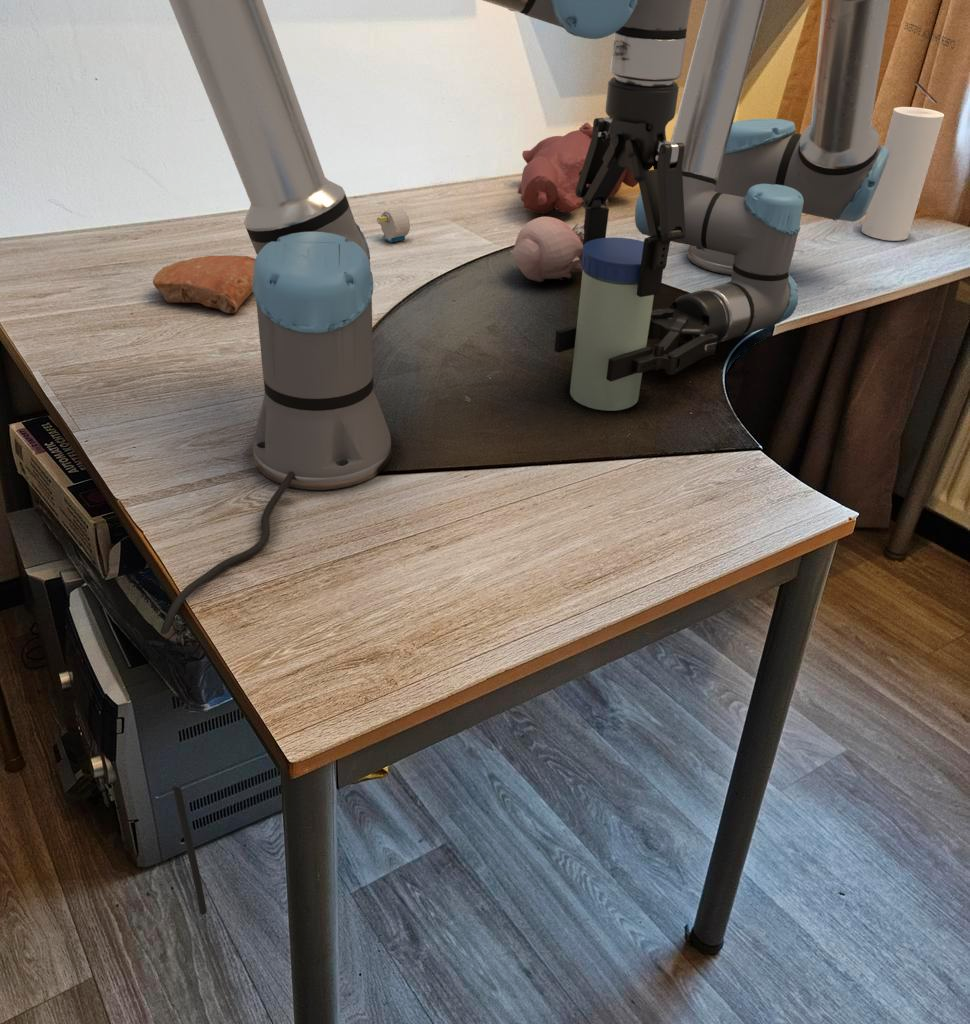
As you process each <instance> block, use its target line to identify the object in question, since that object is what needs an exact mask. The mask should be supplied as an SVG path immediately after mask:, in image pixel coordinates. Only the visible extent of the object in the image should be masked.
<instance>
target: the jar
mask: <svg viewBox="0 0 970 1024" xmlns="http://www.w3.org/2000/svg"><path fill="white" fill-rule="evenodd" d="M637 288H638V282H615V281H609V280H604V279H600V278H597V277H595V276H592V275H590V274H588V273H587V272H585V271H584V270H583V269H582V273H581V283H580V290H579V291H580V292H579V301H578V302H579V303H578V311H577V319H576V322H577V323H576V325H577V329H576V339H575V348H573V349H574V350H573V357H572V358H573V359H572V368H571V378H570V385H569V386H570V387H569V388H570V389H569V395H570V396H571V398H572V399H573V401H575V402H576V403H578V404H580V405H581V406H583V407H586V408H589V409H593V410H597V411H606V412H607V411H610V412H612V411H613V412H614V411H622V410H623V411H624V410H626V409H629V408H632V407H633V406H635V405H636V404H637V403H638V402H639V398H640V390H641V385H642V378H643V372H642V373H635V374H632V375H629V376H626V377H623V378H620V379H617V380H614V381H611V382H610V381H608V380H607V379H606V377H607V370H608V362H609V358H613V357H616V356H619V355H622V354H625V353H629V352H632V351H635V350H638V349H641V348H645V347H647V345H648V339H647V338H648V332H649V325H650V318H651V312H652V311H653V306H654V305H653V304H654V298H655V295H650V296H645V297H639V296H638V295H637Z"/></svg>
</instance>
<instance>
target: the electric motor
mask: <svg viewBox="0 0 970 1024" xmlns="http://www.w3.org/2000/svg"><path fill="white" fill-rule="evenodd" d="M376 222H377V224H378V225H380V227H381V231H382V233H383V238H384V240H385V241H388V242H389V243H394V242H395V243H396V242H399V241H404V240H405V238H406V236H407V235H409V233H410V229H411V222H410V218H409V216H408V213H407V212H406V210H404V209H403V208H397V209H392V210H387V211H384V212H383V213H382V214H381V216H378V217H377V218H376Z"/></svg>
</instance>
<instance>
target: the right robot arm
mask: <svg viewBox="0 0 970 1024" xmlns="http://www.w3.org/2000/svg"><path fill="white" fill-rule="evenodd" d="M821 1H822V2H821V10H820V11H821V13H820V23H819V33H818V43H817V44H818V45H817V56H816V66H815V78H814V88H813V99H812V109H811V121H810V124H809V125H808V126H807V127H806V128H805V129H804V130H803V131H802V132H801V133H796V130H797V128H796V124H795V122H794V121H793V120H786V119H784V118H783V119H782V118H751V119H741V120H737V121H735V118H736V117H735V116H736V113H737V109H738V106H739V102H740V98H741V95H742V91H743V88H744V84H745V80H746V77H747V74H748V69H749V65H750V62H751V58H752V55H753V51H754V47H755V44H756V40H757V36H758V32H759V29H760V25H761V22H762V17H763V14H764V11H765V7H766V3H767V0H706V1H705V5H704V9H703V13H702V18H701V22H700V26H699V29H698V33H697V36H696V41H695V45H694V48H693V52H692V56H691V60H690V64H689V67H688V72H687V75H686V79H685V83H684V88H683V91H682V94H681V95H682V96H681V98H680V103H679V107H678V111H677V115H676V119H675V123H674V126H673V130H672V133H671V138H670V142H671V143H683V144H684V147H685V151H684V157H683V163H682V176H683V195H684V214H685V232H686V233H685V237H684V238H683V239H677V240H672V241H671V242H673V243H677V244H683V245H687V246H688V251H687V258H688V260H689V261H690V262H691V263H693V264H694V265H696V266H697V267H699V268H702V269H704V270H707V271H710V272H714V273H718V274H722V275H723V274H724V275H730V276H731V278H730V281H728V282H725V283H721V284H718V285H714V286H710V287H706V288H702V289H700V290H696V291H693V292H689V293H686V294H683V295H680V296H678V297H677V298H676V299H675V300H674V301H673V302H672V303H671V304H670V305H669V307H667V308H657V309H654V310H652V312H651V318H650V325H649V332H648V338H647V340H659V341H660V342H659V343H655V344H654V346H653V348H651V347H650V346H646V347H645V348H641V349H638V350H635V351H632V352H629V353H625V354H622V355H619V356H616V357H613V358H609V362H608V370H607V377H606V379H607V380H608V381H610V382H611V381H614V380H617V379H620V378H623V377H626V376H629V375H632V374H635V373H642V374H643V373H645V372H648V371H651V370H653V371H661V370H665V374H667V375H669V376H673V375H676V374H678V373H679V372H681V371H683V370H685V369H686V368H688V367H689V366H691V365H692V364H694V363H696V362H697V361H699V360H700V359H703V358H705V357H711V356H713V355H715V354H716V353H715V352H716V349H717V348H716V347H717V344H719V343H722V342H725V341H729V340H731V339H734V338H738V337H742V336H744V335H748V334H751V333H755V332H758V331H761V330H766V329H770V328H772V327H774V326H775V325H778V324H780V323H782V322H784V321H786V320H788V318H790V317H791V316H792V315H793V314H794V312H795V310H796V309H797V306H798V304H799V294H798V289H797V288H798V287H797V283H796V281H795V280H794V279H793V277H792V276H791V275H790V273H789V272H790V269H791V264H792V261H793V256H794V253H795V248H796V243H797V239H798V236H799V232H800V231H801V227H800V226H801V219H802V214H805V215H810V216H814V217H819V218H823V219H828V220H832V221H843V222H852V223H853V222H857V221H859V220H861V219H862V218H863V217H865V215H866V211H867V209H868V207H869V205H870V202H871V200H872V198H873V196H874V193H875V191H876V188H877V186H878V183H879V181H880V178H881V176H882V173H883V171H884V168H885V165H886V162H887V160H888V156H889V150H888V149H887V148H884V145H879V144H880V133H879V131H878V130H877V128H876V126H875V125H874V124H873V123H872V121H873V114H874V109H875V102H876V96H877V89H878V83H879V76H880V70H881V64H882V57H883V50H884V46H885V45H884V44H885V38H886V31H887V24H888V18H889V12H890V7H891V6H890V5H891V0H821ZM634 208H635V209H634V224H635V226H636V229H637V230H638V231H639V232H640V233H641V235H643V236H644V235H645V236H648V237H650V234H649V230H648V225H647V220H646V215H645V211H644V206H643V201H642V196H641V192H640V194H639V195H638V196H637V199H636V203H635V207H634ZM673 228H675V227H673ZM659 230H660V226H659ZM576 329H577V324H574V325H571V326H568V327H564V328H561V329H557V330H555V340H554V349H553V350H554V352H556V353H558V354H559V353H563V352H566V351H569V350H572V349H574V348H575V339H576ZM652 351H653V352H652Z"/></svg>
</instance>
